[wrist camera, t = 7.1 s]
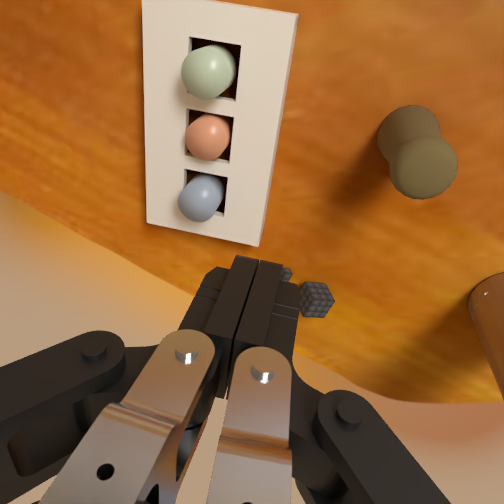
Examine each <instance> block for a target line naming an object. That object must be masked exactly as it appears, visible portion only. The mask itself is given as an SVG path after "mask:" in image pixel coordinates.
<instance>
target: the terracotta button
mask: <svg viewBox="0 0 504 504" xmlns="http://www.w3.org/2000/svg"><path fill="white" fill-rule="evenodd" d="M232 132H233V124H232V122H231V120H230V118H229V117H228V116H225V115H219V114H214V113H209V112H205V113H204V114H202V115H201V116H200V117H199V118H197V119H196V120H195V121H194V122H193V123H191V124H190V125H189V127H188V128H187V130H186V134H185V142H186V145H187V148H188V149H189V151H190V152H191V153H192V154H193V155H194V156H195V157H196V158H198V159H201V160H205V161H210V160H214V159H216V158H218V157H219V156H220V155H221V154H222V152H223V151H224V150H225V149H226V147H227V146H228V145H229V144H230V142H231V141H232Z"/></svg>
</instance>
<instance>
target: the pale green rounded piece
mask: <svg viewBox="0 0 504 504" xmlns="http://www.w3.org/2000/svg"><path fill="white" fill-rule="evenodd" d="M236 73H237V66H236V62H235V59H234V57H233V55H232V54H231V52H230V51H229V50H228V49H226V48H225V47H223V46H221V45H216V44H212V45H208V46H205V47H202V48H199V49H196V50H194V51H192V52H190V53H189V54H188V55H187V56H186V57H185V59H184V61H183V64H182V68H181V76H182V81H183V83H184V85H185V87H186V89H187V90H188V91H189V92H190V93H191V94H192V95H193V96H195V97H196V98H199V99H202V100H210V99H213V98H215V97H217V96H218V95H220V94H221V93H222V92H224V91H225V90H226V89H227V88H229V87H230V86H231V85H232V83H233V82H234V80H235V77H236Z"/></svg>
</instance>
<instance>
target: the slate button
mask: <svg viewBox="0 0 504 504" xmlns="http://www.w3.org/2000/svg"><path fill="white" fill-rule="evenodd" d="M224 194H225V190H224V186H223V184H222V182H221V181H220V179H219V178H217V177H216V176H215V175H213V174H209V173H199V174H197V175H195V176H194V177H193V178H192V179H191V181H190V182H189V183H188V184H187V185H186V187H185V188H184V189H183V190H182V191H181V193H180V194H179V196H178V207H179V209H180V211H181V213H182V214H183V215H184V216H185V217H186V218H188V219H189V220H191V221H194V222H205V221H207V220H209V219H210V218H211V217H212V216H213V215H214V213H215V211H216V210H217V208H218V206H219V205H220V203H221V201H222V200H223V198H224Z"/></svg>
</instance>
